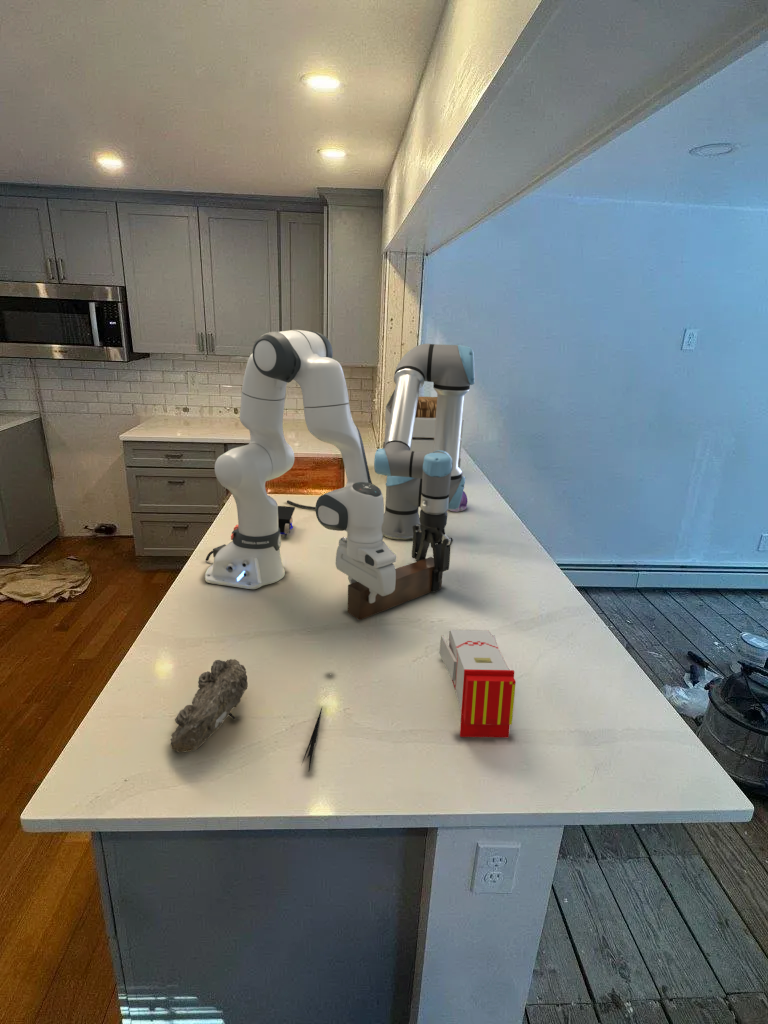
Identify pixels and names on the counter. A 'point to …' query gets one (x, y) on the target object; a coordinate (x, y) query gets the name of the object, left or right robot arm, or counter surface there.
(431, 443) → the transformer
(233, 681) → the fossil
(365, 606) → the walnut beam
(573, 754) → the counter surface
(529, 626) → the counter surface
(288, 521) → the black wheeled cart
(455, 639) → the toy
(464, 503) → the figurine
